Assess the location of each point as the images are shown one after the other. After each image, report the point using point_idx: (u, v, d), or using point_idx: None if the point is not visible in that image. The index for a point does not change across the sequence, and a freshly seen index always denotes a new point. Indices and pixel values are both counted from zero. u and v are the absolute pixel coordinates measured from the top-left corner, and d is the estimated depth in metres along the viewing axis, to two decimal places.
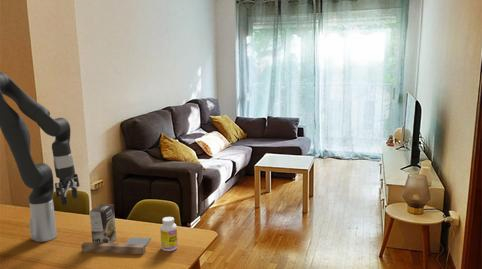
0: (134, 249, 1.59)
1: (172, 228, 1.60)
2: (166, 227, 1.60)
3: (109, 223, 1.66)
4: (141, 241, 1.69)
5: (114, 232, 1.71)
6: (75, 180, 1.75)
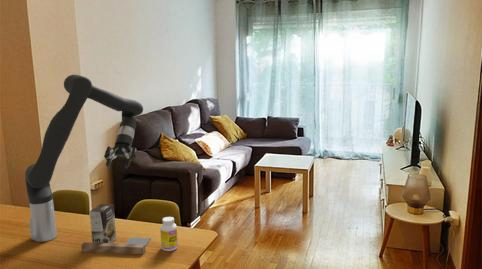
0: (134, 249, 1.59)
1: (172, 228, 1.60)
2: (166, 227, 1.60)
3: (109, 223, 1.66)
4: (141, 241, 1.69)
5: (114, 232, 1.71)
6: (109, 153, 1.86)
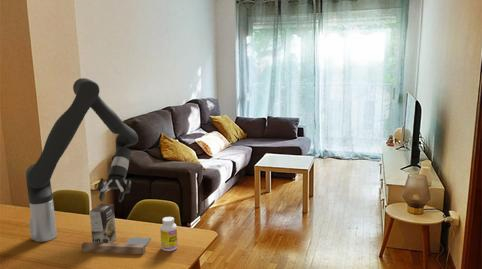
0: (134, 249, 1.59)
1: (172, 228, 1.60)
2: (166, 227, 1.60)
3: (109, 223, 1.66)
4: (141, 241, 1.69)
5: (114, 232, 1.71)
6: (102, 185, 1.80)
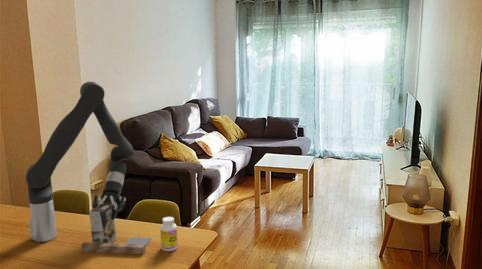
0: (134, 249, 1.59)
1: (172, 228, 1.60)
2: (166, 227, 1.60)
3: (109, 223, 1.66)
4: (141, 241, 1.69)
5: (114, 232, 1.71)
6: (97, 202, 1.74)
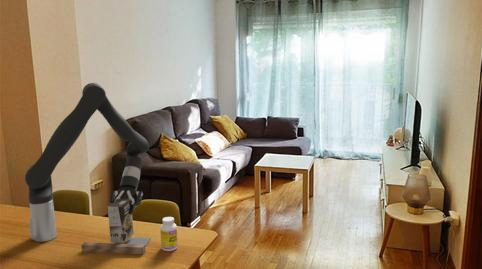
0: (134, 249, 1.59)
1: (172, 228, 1.60)
2: (166, 227, 1.60)
3: (127, 218, 1.65)
4: (141, 241, 1.69)
5: (131, 227, 1.70)
6: (114, 197, 1.73)
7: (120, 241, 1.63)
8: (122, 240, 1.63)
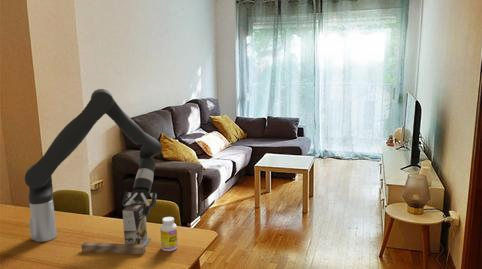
0: (134, 249, 1.59)
1: (172, 228, 1.60)
2: (166, 227, 1.60)
3: (141, 222, 1.65)
4: None
5: (145, 231, 1.70)
6: (127, 199, 1.72)
7: None
8: None
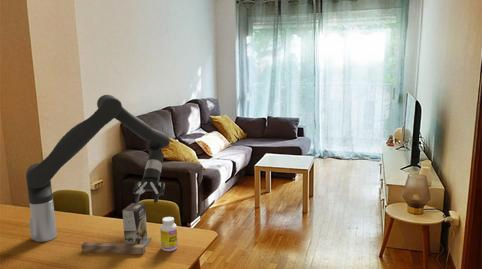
0: (134, 249, 1.59)
1: (172, 228, 1.60)
2: (166, 227, 1.60)
3: (141, 222, 1.65)
4: None
5: (145, 231, 1.70)
6: (137, 187, 1.85)
7: None
8: None
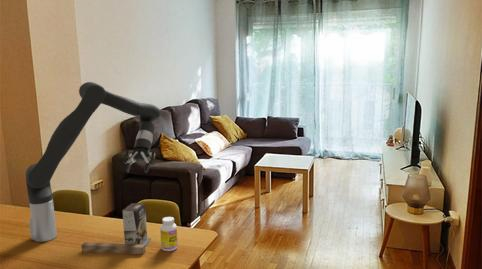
0: (134, 249, 1.59)
1: (172, 228, 1.60)
2: (166, 227, 1.60)
3: (141, 222, 1.65)
4: None
5: (145, 231, 1.70)
6: (128, 157, 1.85)
7: None
8: None
